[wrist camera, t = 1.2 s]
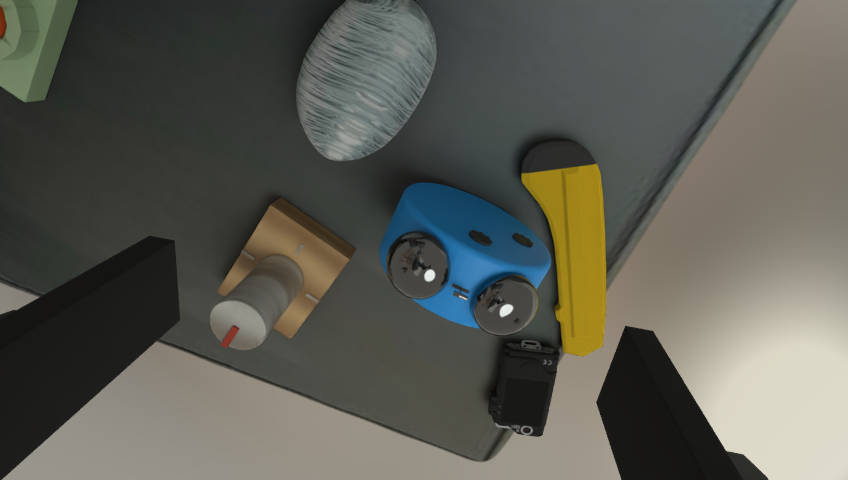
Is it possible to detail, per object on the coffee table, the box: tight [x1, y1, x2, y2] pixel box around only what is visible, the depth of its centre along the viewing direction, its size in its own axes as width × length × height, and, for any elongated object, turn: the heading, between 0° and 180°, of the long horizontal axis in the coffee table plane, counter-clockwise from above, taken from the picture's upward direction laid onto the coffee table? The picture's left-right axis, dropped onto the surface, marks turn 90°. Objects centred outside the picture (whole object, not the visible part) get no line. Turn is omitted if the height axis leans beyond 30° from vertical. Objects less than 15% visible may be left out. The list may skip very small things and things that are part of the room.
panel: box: [218, 197, 356, 339], centre depth 47 cm, size 12×9×3 cm
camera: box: [488, 340, 560, 437], centre depth 50 cm, size 6×3×11 cm
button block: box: [0, 0, 78, 102], centre depth 40 cm, size 12×8×4 cm, turn 144°
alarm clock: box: [379, 183, 551, 336], centre depth 38 cm, size 13×6×15 cm, turn 66°
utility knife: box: [521, 140, 606, 356], centre depth 44 cm, size 7×22×2 cm, turn 10°
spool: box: [296, 0, 437, 161], centre depth 37 cm, size 14×10×10 cm
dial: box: [210, 255, 304, 350], centre depth 42 cm, size 5×5×9 cm
